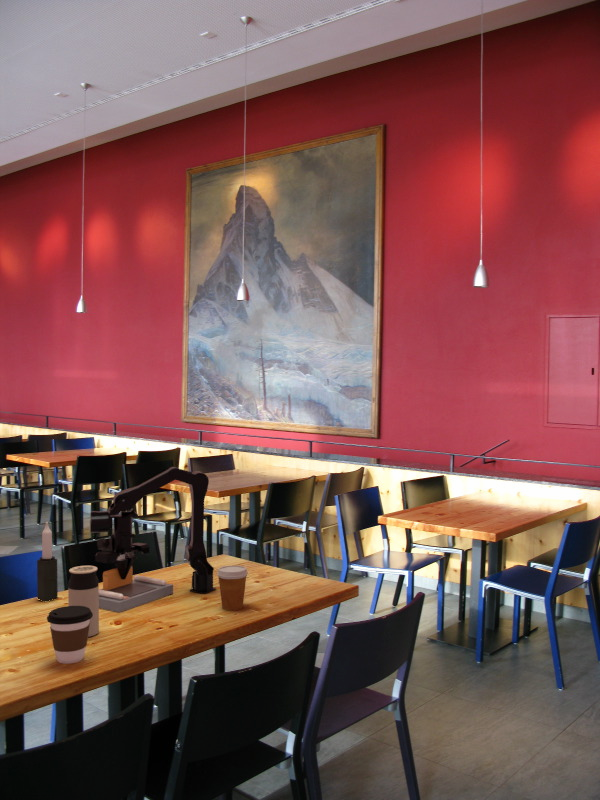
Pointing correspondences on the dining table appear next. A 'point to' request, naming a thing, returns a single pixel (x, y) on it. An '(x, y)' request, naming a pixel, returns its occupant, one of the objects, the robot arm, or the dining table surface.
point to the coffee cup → (70, 632)
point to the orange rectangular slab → (116, 579)
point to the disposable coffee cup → (232, 586)
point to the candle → (47, 569)
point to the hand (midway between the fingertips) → (123, 579)
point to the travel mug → (85, 593)
